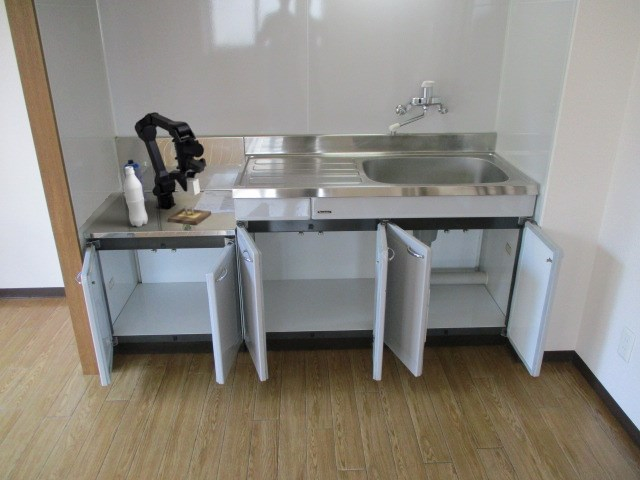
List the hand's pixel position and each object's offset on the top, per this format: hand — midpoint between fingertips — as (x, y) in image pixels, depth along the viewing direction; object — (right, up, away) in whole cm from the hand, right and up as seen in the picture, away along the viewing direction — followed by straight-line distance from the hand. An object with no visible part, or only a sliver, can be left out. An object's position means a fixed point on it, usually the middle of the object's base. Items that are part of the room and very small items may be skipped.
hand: (188, 189), depth 214 cm
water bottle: (-20, -15, -2) cm, 25 cm away
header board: (0, -12, +3) cm, 12 cm away
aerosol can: (-30, -3, +23) cm, 38 cm away
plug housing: (0, -1, +1) cm, 2 cm away
